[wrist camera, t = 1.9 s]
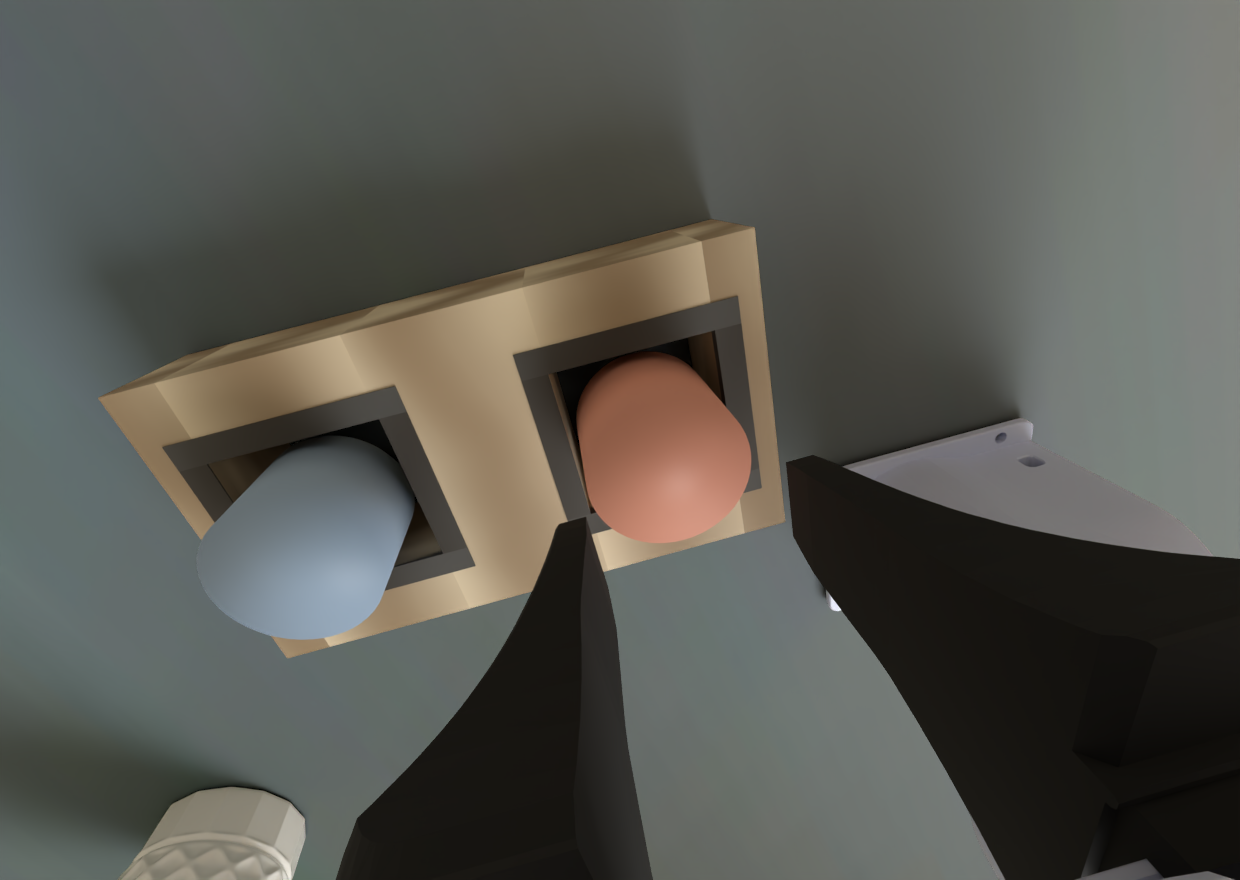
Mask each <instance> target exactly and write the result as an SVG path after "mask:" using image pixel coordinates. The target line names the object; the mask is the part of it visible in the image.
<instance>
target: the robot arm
mask: <svg viewBox="0 0 1240 880" xmlns="http://www.w3.org/2000/svg"><path fill="white" fill-rule="evenodd" d="M1032 433H1033V424H1032V423H1031V422H1030V421H1027V420H1025V419H1023V418H1018V419H1014V420H1011V421H1007V422H1003V423H1000V424H996V425H992V426H989V427H985V428H981V429H977V430H974V431H970V432H966V433H963V434H959V435H955V436H952V437H948V438H944V439H941V440H937V441H933V442H930V443H926V444H922V445H919V446H915V447H911V448H908V449H904V450H900V451H897V452H893V453H889V454H886V455H882V456H878V457H875V458H871V459H867V460H864V461H860V462H856V463H853V464H849V465H845V466H840V465H837V464H835V463H832V462H830V461H827V460H825V459H822V458H820V457H817V456H814V455H811V456H808V457H804V458H800V459H797V460H793V461H789V462H786V466H787V477H788V487H789V497H790V508H791V518H792V528H793V537H794V538H795V540H796V542H797V544H798V546H799V548H800V549H801V551H802V553H803V555H804V557H805V559H806V560H807V562H808V564H809V565H810V567H811V569H812V571H813V572H814V574H815V575H816V577H817V578H818V579H819V581H820V582H821V584H822V585H823V586H824V588H825V589H826V598H827V604H828V605H829V607H830V608H831V609H832V610H834V611H840V610H842V612H843V613H844V614H845V616H846V617H847V618H848V620H849V621H850V622H851V624H852V625H853V626H854V627H855V629H856V630H857V631H858V633H859V634H860V635H861V637H862V638H863V639H864V641H865V642H866V643H867V645H868V646H869V647H870V649H871V650H872V651H873V653H874V654H875V655H876V657H877V658H878V660H879V661H880V663H881V664H882V665H883V667H884V668H885V670H886V671H887V673H888V674H889V676H890V677H891V679H892V680H893V682H894V684H895V685H896V687H897V689H898V690H899V692H900V694H901V695H902V697H903V699H904V700H905V702H906V703H907V705H908V707H909V708H910V710H911V712H912V713H913V715H914V717H915V718H916V720H917V722H918V723H919V725H920V727H921V728H922V730H923V732H924V734H925V735H926V737H927V739H928V740H929V742H930V744H931V746H932V747H933V749H934V751H935V752H936V754H937V756H938V758H939V759H940V761H941V763H942V764H943V766H944V768H945V770H946V771H947V773H948V775H949V777H950V779H951V780H952V782H953V784H954V786H955V788H956V789H957V791H958V793H959V795H960V797H961V798H962V800H963V802H964V804H965V806H966V808H967V809H968V811H969V814H970V816H971V820H972V825H973V828H974V831H975V834H976V837H977V840H978V842H979V844H980V846H981V848H982V850H983V852H984V854H985V856H986V858H987V860H988V862H989V864H990V865H991V867H992V869H993V870H994V872H995V874H996V875H997V877H998V878H999V880H1240V559H1235V558H1224V557H1213V555H1212V554H1211V552H1210V551H1209V550H1208V549H1207V548H1206V546H1205V545H1204V544H1203V543H1202V542H1201V541H1200V540H1199V538H1198V537H1197V536H1196V535H1195V534H1194V533H1193V532H1192V531H1191V530H1190V529H1188V528H1187V527H1186V526H1185V525H1184V524H1183V523H1182V522H1180V521H1179V520H1178V519H1176V518H1175V517H1174V516H1172V515H1171V514H1170V513H1168V512H1166V511H1165V510H1163V509H1161V508H1160V507H1158V506H1156V505H1154V504H1152V503H1150V502H1148V501H1146V500H1145V499H1143V498H1141V497H1139V496H1137V495H1135V494H1133V493H1131V492H1129V491H1127V490H1125V489H1123V488H1121V487H1119V486H1117V485H1116V484H1114V483H1112V482H1110V481H1108V480H1106V479H1104V478H1102V477H1100V476H1098V475H1096V474H1094V473H1092V472H1090V471H1088V470H1087V469H1085V468H1083V467H1081V466H1079V465H1077V464H1075V463H1073V462H1071V461H1069V460H1067V459H1065V458H1063V457H1061V456H1059V455H1058V454H1056V453H1054V452H1052V451H1050V450H1048V449H1046V448H1044V447H1042V446H1040V445H1038V444H1036V443H1034V442H1032V441H1031V440H1032ZM998 434H999V436H998V437H997V438H996V436H997V435H998ZM336 880H653V878H652V873H651V868H650V863H649V858H648V852H647V847H646V842H645V837H644V831H643V826H642V821H641V815H640V810H639V805H638V800H637V794H636V789H635V783H634V778H633V772H632V767H631V761H630V756H629V750H628V743H627V736H626V728H625V718H624V707H623V695H622V684H621V673H620V662H619V651H618V640H617V630H616V624H615V619H614V614H613V609H612V604H611V599H610V595H609V590H608V586H607V582H606V579H605V576H604V573H603V570H602V566H601V563H600V560H599V557H598V554H597V550H596V547H595V544H594V541H593V537H592V534H591V531H590V528H589V525H588V521H587V518H586V517H583V518H579V519H575V520H572V521H568V522H564V523H561V524H559V525H558V526H557V528H556V529H555V533H554V536H553V539H552V542H551V545H550V548H549V551H548V554H547V556H546V559H545V562H544V564H543V567H542V569H541V572H540V574H539V576H538V579H537V581H536V583H535V586H534V588H533V590H532V592H531V595H530V597H529V599H528V601H527V603H526V605H525V607H524V609H523V611H522V613H521V615H520V617H519V619H518V621H517V623H516V625H515V626H514V628H513V630H512V632H511V634H510V635H509V637H508V639H507V641H506V642H505V644H504V646H503V647H502V649H501V651H500V652H499V654H498V655H497V657H496V658H495V660H494V662H493V663H492V665H491V666H490V668H489V669H488V671H487V672H486V674H485V675H484V676H483V678H482V679H481V681H480V682H479V684H478V685H477V686H476V688H475V689H474V690H473V692H472V693H471V695H470V696H469V697H468V699H467V700H466V701H465V703H464V704H463V705H462V707H461V708H460V709H459V710H458V712H457V713H456V714H455V715H454V717H453V718H452V719H451V720H450V721H449V723H448V724H447V725H446V726H445V727H444V729H443V730H442V731H441V732H440V733H439V734H438V736H437V737H436V738H435V739H434V740H433V741H432V742H431V743H430V745H429V746H428V747H427V748H426V749H425V750H424V751H423V752H422V754H421V755H420V756H419V757H418V758H417V759H416V760H415V761H414V762H413V763H412V764H411V765H410V766H409V767H408V769H407V770H406V771H405V772H404V773H403V774H402V775H401V776H400V777H399V778H398V779H397V780H396V781H395V782H394V783H393V784H392V785H391V786H390V787H389V788H388V789H387V790H386V791H385V792H384V793H383V794H382V795H381V796H380V797H379V798H378V799H377V800H376V801H375V802H374V803H373V804H372V805H371V806H370V807H369V808H368V809H367V810H365V811H364V812H363V813H362V814H361V815H360V816H359V817H358V818H357V820H356V823H355V826H354V829H353V831H352V834H351V837H350V839H349V842H348V844H347V847H346V850H345V852H344V855H343V858H342V861H341V865H340V868H339V871H338V874H337V878H336Z"/></svg>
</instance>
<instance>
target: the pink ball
mask: <svg viewBox="0 0 1240 880" xmlns="http://www.w3.org/2000/svg"><path fill="white" fill-rule="evenodd" d="M576 422H577V431H578V437H579V443H580V450H581V456H582V462H583V468H584V475H585V481H586V487H587V492H588V496H589V499H590V501H591V504H592V506H593V508H594V509H595V511H596V513H597V514H598V515H599V517H600V518H601V519H602V520H603V521H604V522H605V523H606V524H607V525H608V526H609V527H611V528H612V529H613V530H615V531H616V532H618V533H620V534H622V535H624V536H626V537H628V538H631V539H634V540H638V541H642V542H648V543H670V542H677V541H681V540H685V539H688V538H691V537H694V536H696V535H699V534H701V533H703V532H705V531H707V530H708V529H710V528H712V527H713V526H715V525H716V524H717V523H719V522H720V521H721V520H722V519H723V518H724V517H726V516H727V515H728V514H729V513H730V511H731V510H732V509H733V508H734V507H735V505H736V504H737V502H738V501H739V500H740V498H741V496H742V494H743V492H744V490H745V488H746V485H747V483H748V480H749V476H750V471H751V450H750V445H749V441H748V439H747V436H746V434H745V432H744V430H743V428H742V426H741V425H740V424H739V422H738V421H737V420H736V419H735V417H734V416H733V415H732V414H731V413H730V411H729V410H728V409H727V408H726V407H725V405H724V404H723V403H722V402H721V401H720V400H719V398H718V397H717V396H716V395H715V394H714V392H713V391H712V390H711V389H710V388H709V387H708V385H707V384H706V383H705V382H704V381H703V380H702V378H701V377H700V376H699V375H698V374H697V372H696V371H695V370H694V369H693V368H692V367H690V366H689V365H688V364H687V363H685V362H684V361H682V360H680V359H678V358H677V357H675V356H672V355H669V354H666V353H661V352H652V351H645V352H636V353H631V354H627V355H624V356H621V357H619V358H617V359H615V360H613V361H611V362H610V363H608V364H606V365H605V366H604V367H602V368H601V369H600V370H599V371H598V372H597V373H596V374H595V375H594V376H593V377H592V378H591V379H590V381H589V382H588V384H587V385H586V387H585V388H584V390H583V392H582V394H581V397H580V400H579V403H578V408H577V416H576Z"/></svg>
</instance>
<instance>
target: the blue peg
mask: <svg viewBox="0 0 1240 880" xmlns="http://www.w3.org/2000/svg"><path fill="white" fill-rule="evenodd" d="M414 508H415V496H414V491H413V489H412V487H411V485H410V483H409V481H408V479H407V477H406V475H405V473H404V470H403V469H402V467H401V466H400V465H399V464H398V463H397V462H396V461H395V460H394V459H393V458H392V457H391V456H390V455H388V454H387V453H386V452H384V451H383V450H381V449H379V448H378V447H376V446H374V445H372V444H370V443H367V442H364V441H362V440H359V439H355V438H351V437H344V436H330V435H329V436H318V437H313V438H309V439H306V440H303V441H300V442H298V443H296V444H294V445H292V446H291V447H289V448H288V449H286V450H285V451H284V452H283V453H282V454H280V455H279V456H278V457H277V458H276V459H275V461H274V462H273V463H272V464H271V465H270V466H269V467H268V468H267V469H266V470H265V471H264V472H263V473H262V474H261V475H260V476H259V477H258V478H257V479H256V480H255V481H254V482H253V483H252V484H251V486H250V487H249V488H248V489H247V490H246V491H245V492H244V493H243V494H242V495H241V496H240V497H239V498H238V499H237V500H236V501H235V502H234V503H233V504H232V505H231V506H230V507H229V508H228V509H227V511H226V512H225V513H224V514H223V515H222V516H221V517H220V518H219V519H218V520H217V521H216V522H215V523H214V524H213V525H212V526H211V527H210V528H209V530H208V531H207V532H206V534H205V535H204V537H203V539H202V541H201V542H200V545H199V548H198V552H197V560H196V564H197V572H198V576H199V579H200V582H201V584H202V586H203V588H204V590H205V592H206V593H207V595H208V596H209V598H210V599H211V600H212V601H213V602H214V604H215V605H216V606H217V607H218V608H219V609H220V610H222V611H223V612H224V613H225V614H226V615H228V616H229V617H231V618H232V619H233V620H235V621H237V622H238V623H240V624H242V625H244V626H246V627H248V628H250V629H252V630H255V631H258V632H261V633H263V634H267V635H271V636H275V637H280V638H286V639H298V640H307V639H319V638H326V637H330V636H334V635H337V634H340V633H343V632H346V631H348V630H350V629H352V628H354V627H356V626H357V625H359V624H360V623H362V622H363V621H364V620H366V619H367V618H368V617H369V616H370V615H371V614H372V613H373V612H374V610H375V609H376V607H377V606H378V604H379V603H380V600H381V598H382V596H383V593H384V591H385V588H386V585H387V583H388V580H389V578H390V575H391V572H392V570H393V567H394V564H395V562H396V559H397V556H398V554H399V551H400V549H401V546H402V543H403V541H404V538H405V535H406V533H407V530H408V527H409V525H410V522H411V520H412V517H413V513H414Z"/></svg>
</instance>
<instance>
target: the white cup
mask: <svg viewBox="0 0 1240 880" xmlns="http://www.w3.org/2000/svg"><path fill="white" fill-rule="evenodd" d="M304 841H305V818H304V817H303V816H302V815H301V814H300V813H299V811H298V810H297V809H296V808H295V807H294V806H293V805H292V804H291V803H290V802H289V801H286V800H284V799H282V798H280V797H277V796H275V795H273V794H270V793H268V792H266V791H262V790H255V789H247V788H239V787H224V788H216V789H209V790H202V791H197V792H195V793H193V794H191V795H189V796H187V797H185V798H183V799H181V800H179V801H177V802H175V803H173V804H172V805H171V806H170V807H169V808H168V810H167V811H166V813H165V814H164V816H163V817H162V819H161V820H160V821H159V823H158V824H157V826H156V827H155V829H154V831H153V832H152V834H151V835H150V837H149V838H148V840H147V841H146V843H145V845H144V846H143V848H142V849H141V851H140V852H139V854H138V855H137V856H136V858H135V859H134V860H133V862H132V863H131V865H130V866H129V867H128V868H127V869H126V870H125V871H124V872H123V873H122V874H121V875H120V877H119V878H118V880H292V878H293V875H294V872H295V869H296V866H297V863H298V860H299V856H300V853H301V850H302V847H303V844H304Z"/></svg>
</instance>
